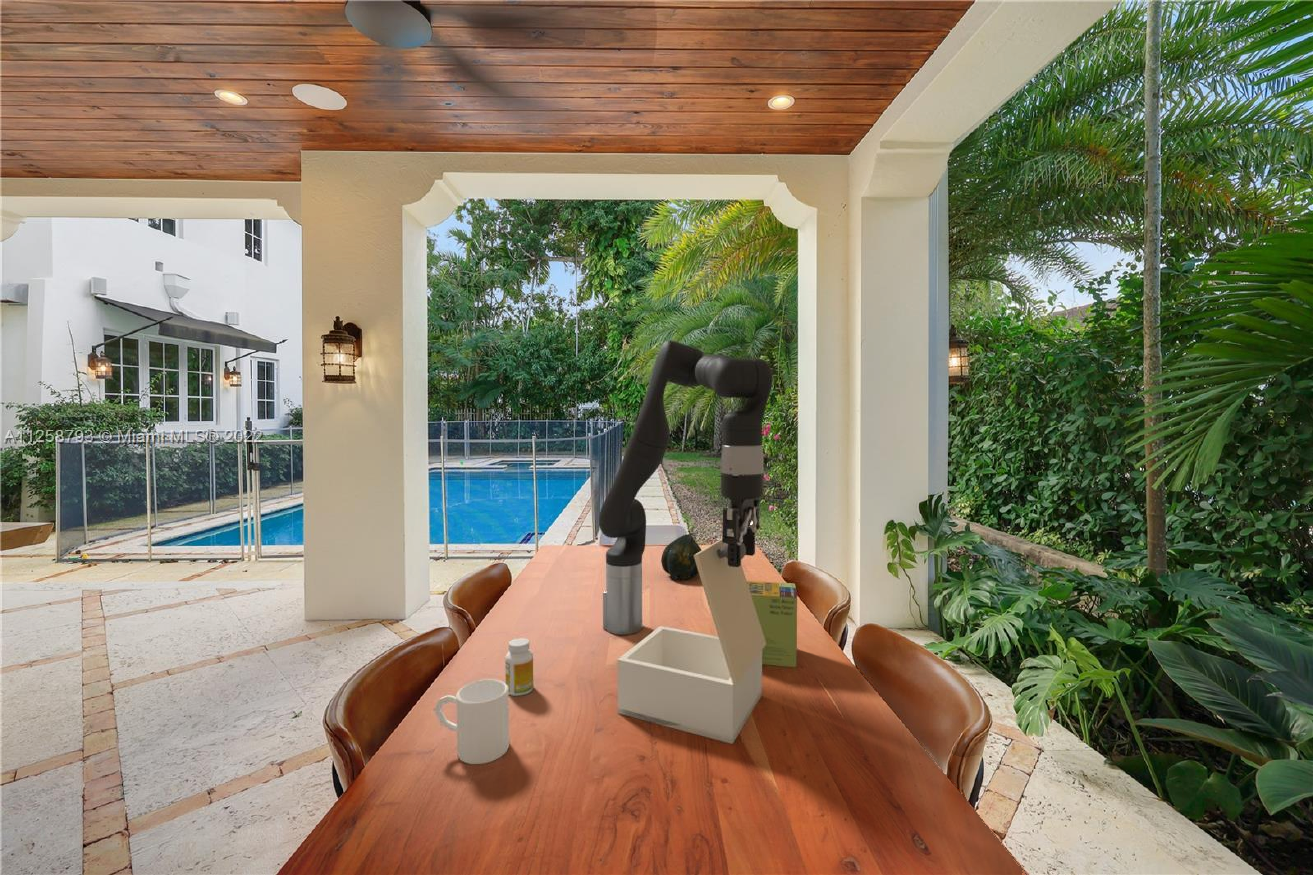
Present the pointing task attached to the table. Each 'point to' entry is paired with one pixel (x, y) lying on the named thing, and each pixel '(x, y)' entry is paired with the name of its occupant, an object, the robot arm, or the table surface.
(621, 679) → the carton
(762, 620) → the protein box
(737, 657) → the lid
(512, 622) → the table surface
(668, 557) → the squash
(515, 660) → the supplement bottle
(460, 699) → the mug
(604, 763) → the table surface
